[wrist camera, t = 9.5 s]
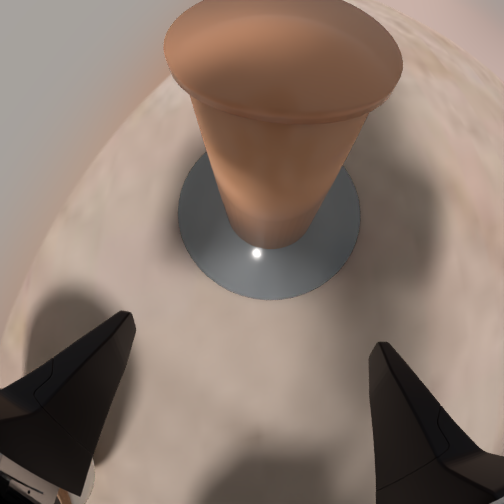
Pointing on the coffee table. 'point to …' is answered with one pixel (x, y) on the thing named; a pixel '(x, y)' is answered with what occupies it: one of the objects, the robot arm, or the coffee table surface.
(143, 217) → the coffee table surface
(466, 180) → the coffee table surface
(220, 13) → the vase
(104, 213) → the coffee table surface
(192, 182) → the coaster
